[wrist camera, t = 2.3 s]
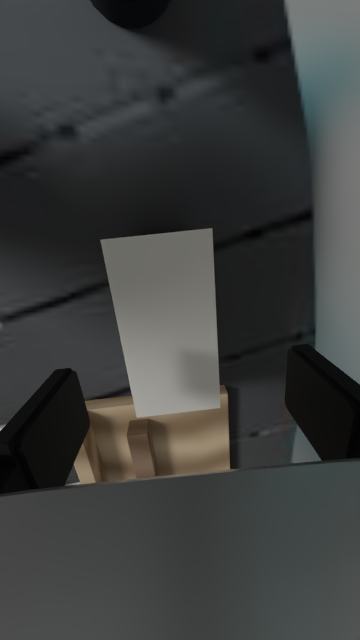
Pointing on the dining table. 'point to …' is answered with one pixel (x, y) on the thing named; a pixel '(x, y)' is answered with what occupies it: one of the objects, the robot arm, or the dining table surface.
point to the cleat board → (169, 437)
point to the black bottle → (131, 11)
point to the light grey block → (166, 319)
